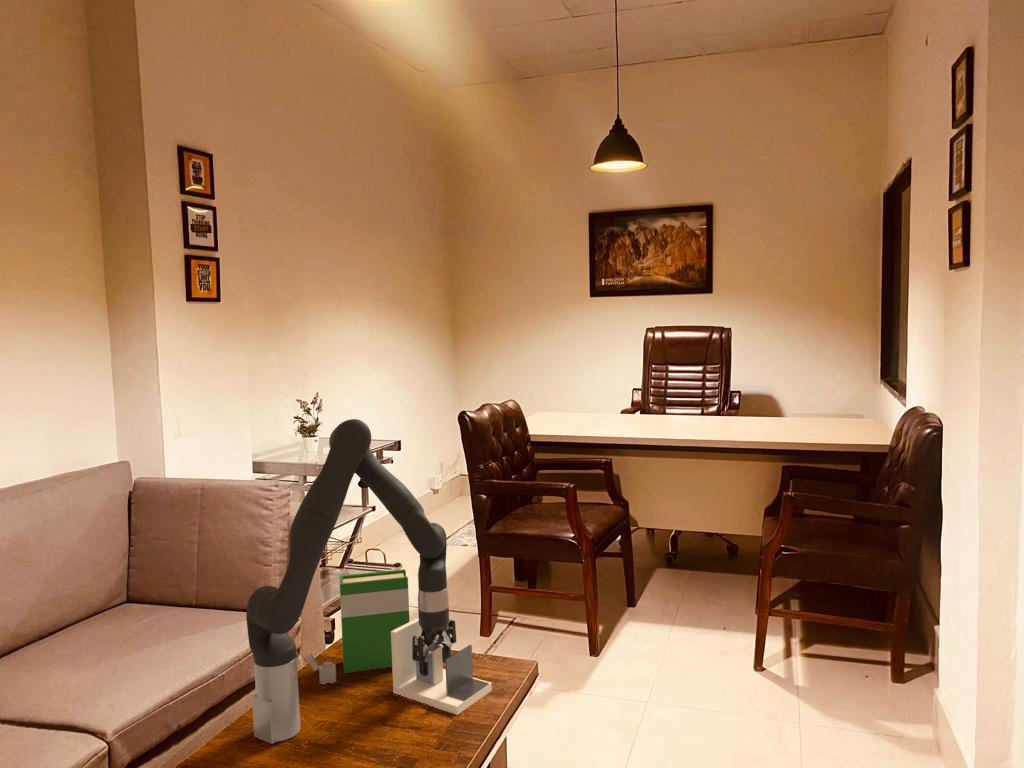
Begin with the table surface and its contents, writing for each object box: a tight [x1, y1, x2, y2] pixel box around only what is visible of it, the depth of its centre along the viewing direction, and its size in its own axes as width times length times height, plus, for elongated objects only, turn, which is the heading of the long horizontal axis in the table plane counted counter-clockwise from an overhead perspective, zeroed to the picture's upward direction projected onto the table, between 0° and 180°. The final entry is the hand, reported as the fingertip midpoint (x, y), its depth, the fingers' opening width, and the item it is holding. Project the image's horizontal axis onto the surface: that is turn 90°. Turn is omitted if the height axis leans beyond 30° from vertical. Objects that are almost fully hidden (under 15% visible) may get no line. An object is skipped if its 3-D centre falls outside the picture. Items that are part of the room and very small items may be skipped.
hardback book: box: [338, 568, 411, 674], centre depth 214 cm, size 18×7×24 cm, turn 104°
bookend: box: [444, 644, 489, 701], centre depth 193 cm, size 10×5×9 cm, turn 146°
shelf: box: [391, 617, 493, 716], centre depth 196 cm, size 14×20×16 cm
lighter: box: [305, 652, 337, 685], centre depth 203 cm, size 7×2×8 cm, turn 105°
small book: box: [416, 644, 444, 685], centre depth 199 cm, size 3×6×9 cm, turn 56°
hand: (435, 668), depth 197 cm, fingers open, 8 cm apart
